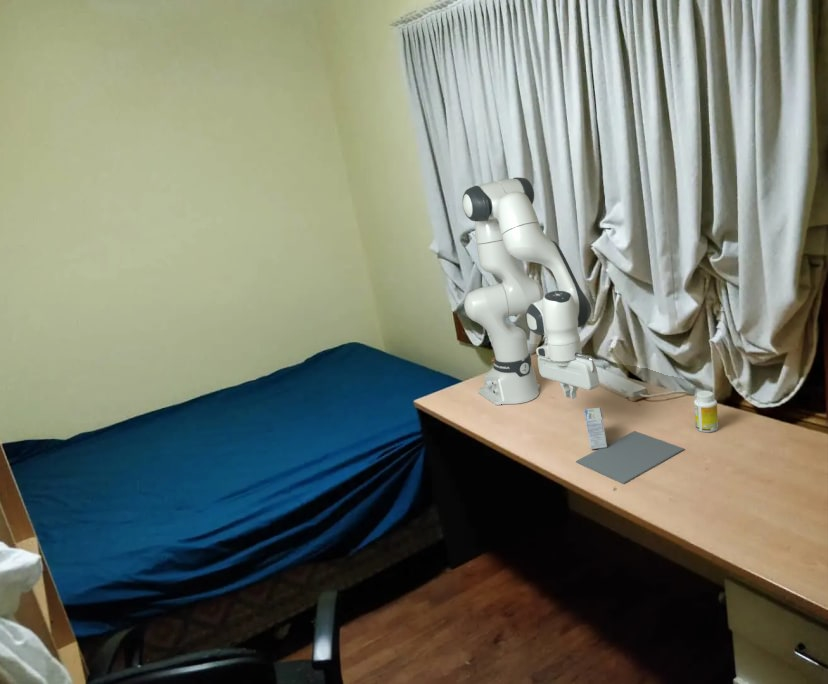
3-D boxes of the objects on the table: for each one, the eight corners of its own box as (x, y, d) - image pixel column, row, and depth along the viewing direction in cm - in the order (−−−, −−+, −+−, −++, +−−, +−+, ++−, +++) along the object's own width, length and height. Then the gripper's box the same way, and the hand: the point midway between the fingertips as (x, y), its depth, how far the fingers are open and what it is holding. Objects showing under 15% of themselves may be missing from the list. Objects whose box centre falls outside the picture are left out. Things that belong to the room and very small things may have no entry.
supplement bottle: (723, 427, 168) (721, 392, 165) (709, 435, 166) (707, 399, 163) (704, 422, 173) (702, 387, 170) (690, 429, 171) (688, 394, 168)
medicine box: (607, 448, 168) (603, 418, 166) (590, 450, 170) (585, 420, 167) (604, 435, 176) (600, 406, 174) (588, 437, 177) (584, 408, 175)
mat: (576, 462, 165) (575, 461, 165) (634, 432, 175) (634, 430, 175) (623, 484, 152) (623, 482, 152) (684, 450, 161) (684, 448, 161)
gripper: (601, 353, 165) (607, 401, 169) (548, 341, 183) (554, 386, 187) (583, 360, 163) (589, 409, 166) (531, 348, 180) (538, 393, 184)
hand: (570, 397), depth 177 cm, fingers closed
